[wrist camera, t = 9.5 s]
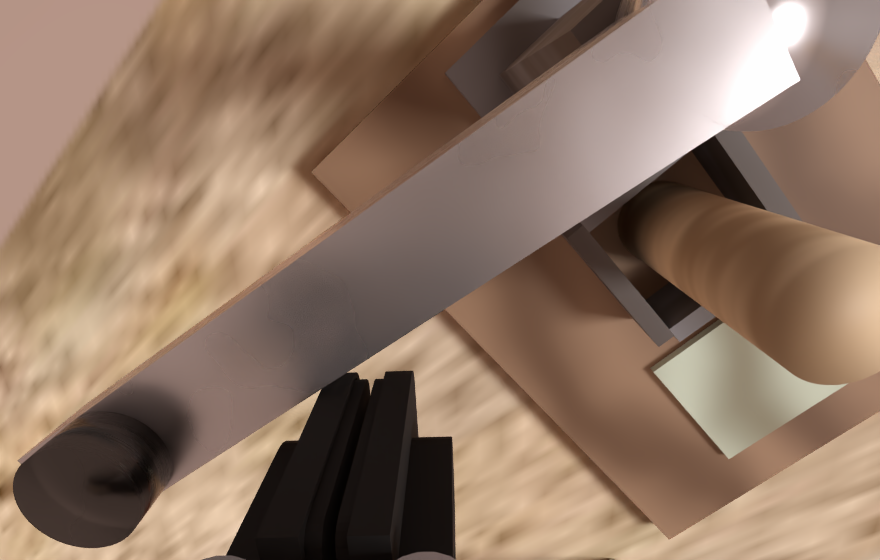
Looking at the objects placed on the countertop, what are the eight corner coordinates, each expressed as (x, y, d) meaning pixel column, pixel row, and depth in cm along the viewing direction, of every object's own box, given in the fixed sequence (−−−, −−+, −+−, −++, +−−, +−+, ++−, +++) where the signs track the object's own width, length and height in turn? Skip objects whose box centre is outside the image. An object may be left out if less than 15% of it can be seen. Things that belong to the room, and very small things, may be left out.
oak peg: (669, 163, 21) (886, 213, 11) (713, 223, 22) (955, 324, 12) (601, 218, 22) (743, 314, 12) (647, 274, 23) (817, 410, 13)
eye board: (687, -201, 18) (1271, -942, 5) (992, 316, 25) (1573, 533, 12) (317, 169, 23) (155, 245, 10) (660, 522, 29) (829, 841, 16)
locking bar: (750, -118, 8) (918, -244, 5) (822, 57, 8) (1002, 32, 6) (67, 387, 10) (-60, 481, 8) (169, 481, 11) (85, 595, 9)
